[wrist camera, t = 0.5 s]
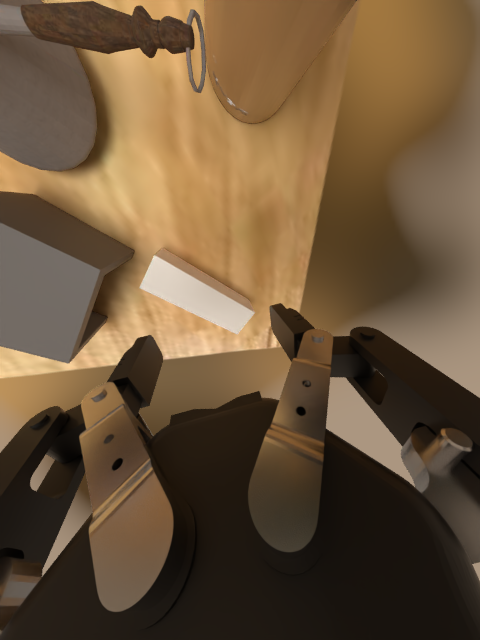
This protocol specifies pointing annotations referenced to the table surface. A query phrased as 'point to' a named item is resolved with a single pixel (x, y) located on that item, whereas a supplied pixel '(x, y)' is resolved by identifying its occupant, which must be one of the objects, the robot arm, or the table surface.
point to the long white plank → (196, 292)
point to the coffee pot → (68, 72)
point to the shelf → (50, 277)
